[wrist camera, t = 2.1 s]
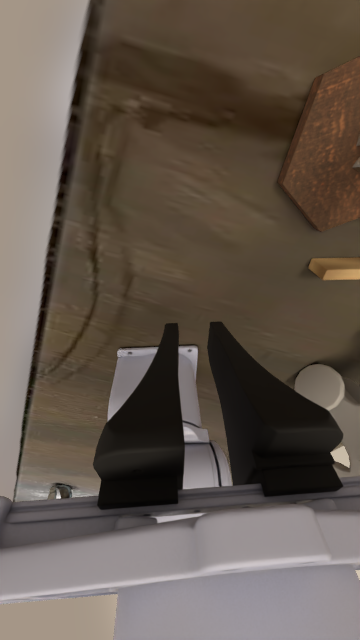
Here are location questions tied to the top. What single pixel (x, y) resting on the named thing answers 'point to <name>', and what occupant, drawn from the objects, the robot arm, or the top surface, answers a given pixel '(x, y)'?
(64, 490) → the wristwatch
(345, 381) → the pony
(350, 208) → the robot figurine
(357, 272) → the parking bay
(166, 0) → the top surface
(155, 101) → the top surface
